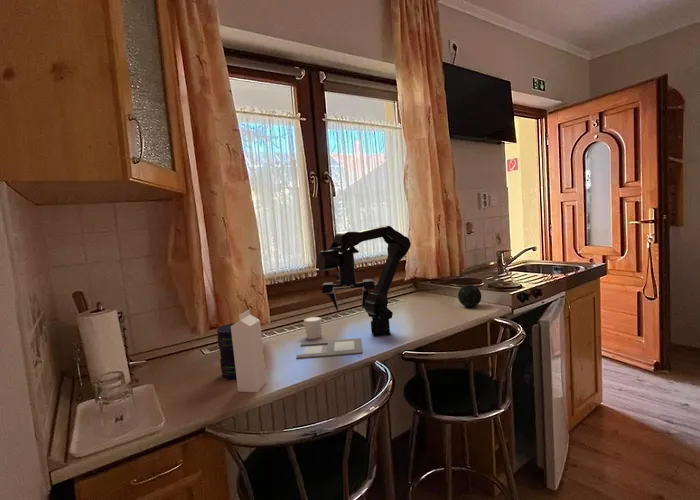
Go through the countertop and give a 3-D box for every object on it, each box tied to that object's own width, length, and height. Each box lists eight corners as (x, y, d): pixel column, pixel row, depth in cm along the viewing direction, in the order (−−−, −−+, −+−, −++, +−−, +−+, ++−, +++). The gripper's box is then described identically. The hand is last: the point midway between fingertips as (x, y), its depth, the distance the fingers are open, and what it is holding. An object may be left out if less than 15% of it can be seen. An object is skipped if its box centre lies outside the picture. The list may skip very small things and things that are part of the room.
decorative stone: (454, 306, 188) (453, 284, 187) (473, 303, 191) (472, 281, 190) (466, 311, 179) (465, 288, 178) (486, 307, 182) (485, 285, 181)
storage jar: (223, 383, 122) (218, 334, 121) (219, 372, 131) (214, 326, 130) (257, 375, 126) (252, 328, 125) (251, 365, 135) (246, 320, 134)
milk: (237, 392, 116) (228, 315, 113) (248, 382, 122) (239, 309, 119) (257, 392, 114) (248, 314, 112) (267, 383, 120) (258, 309, 118)
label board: (360, 339, 153) (360, 337, 152) (362, 354, 138) (362, 351, 138) (301, 344, 153) (301, 342, 153) (296, 359, 138) (296, 357, 138)
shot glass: (325, 333, 163) (324, 316, 162) (318, 339, 156) (317, 321, 155) (309, 333, 165) (308, 316, 164) (302, 339, 158) (300, 321, 158)
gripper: (371, 261, 156) (374, 302, 157) (322, 265, 156) (325, 306, 157) (373, 265, 145) (376, 309, 146) (320, 270, 145) (323, 313, 146)
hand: (350, 309), depth 149 cm, fingers open, 9 cm apart
